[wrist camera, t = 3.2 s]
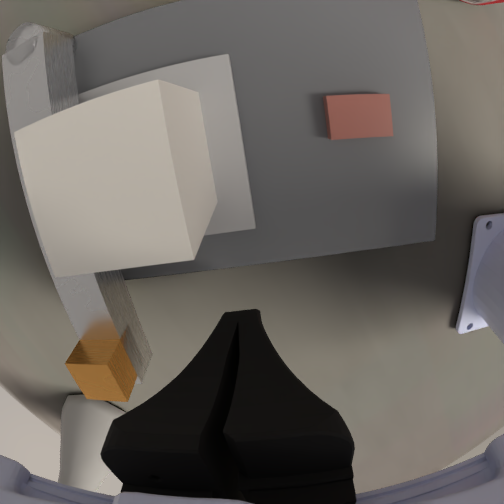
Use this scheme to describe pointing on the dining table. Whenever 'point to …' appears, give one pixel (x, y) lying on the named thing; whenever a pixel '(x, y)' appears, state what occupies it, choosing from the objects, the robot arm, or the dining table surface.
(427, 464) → the dining table surface
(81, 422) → the flask
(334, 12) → the grey flat block
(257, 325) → the robot arm
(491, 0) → the soda can
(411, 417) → the dining table surface
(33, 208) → the plug
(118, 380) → the grey bar orange end
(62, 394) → the dining table surface
